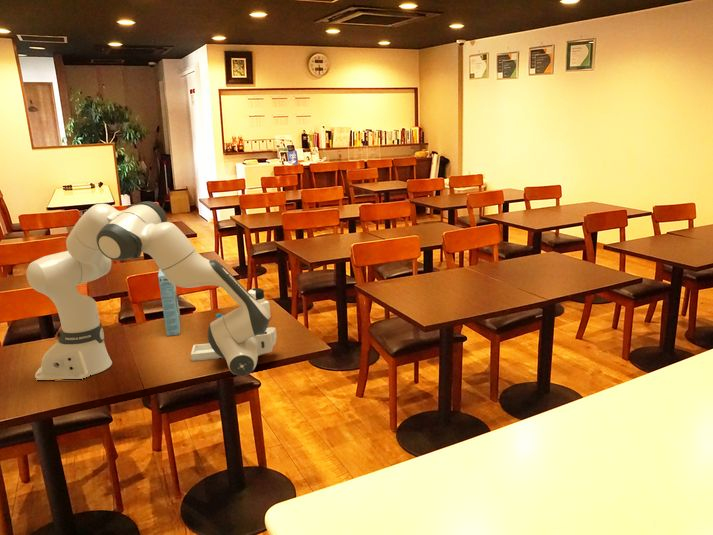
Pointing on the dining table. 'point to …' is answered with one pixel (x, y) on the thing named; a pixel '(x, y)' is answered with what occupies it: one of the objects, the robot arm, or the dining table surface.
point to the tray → (203, 352)
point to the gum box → (169, 305)
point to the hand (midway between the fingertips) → (245, 329)
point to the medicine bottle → (260, 298)
